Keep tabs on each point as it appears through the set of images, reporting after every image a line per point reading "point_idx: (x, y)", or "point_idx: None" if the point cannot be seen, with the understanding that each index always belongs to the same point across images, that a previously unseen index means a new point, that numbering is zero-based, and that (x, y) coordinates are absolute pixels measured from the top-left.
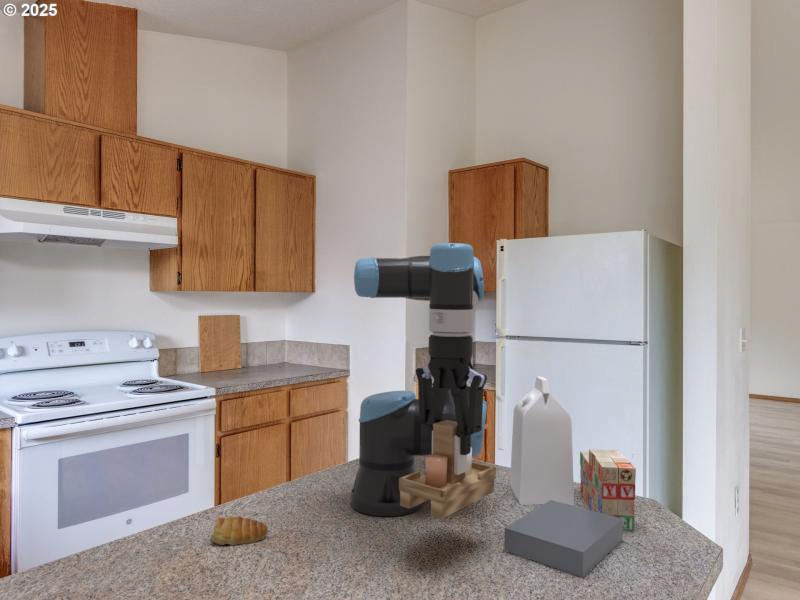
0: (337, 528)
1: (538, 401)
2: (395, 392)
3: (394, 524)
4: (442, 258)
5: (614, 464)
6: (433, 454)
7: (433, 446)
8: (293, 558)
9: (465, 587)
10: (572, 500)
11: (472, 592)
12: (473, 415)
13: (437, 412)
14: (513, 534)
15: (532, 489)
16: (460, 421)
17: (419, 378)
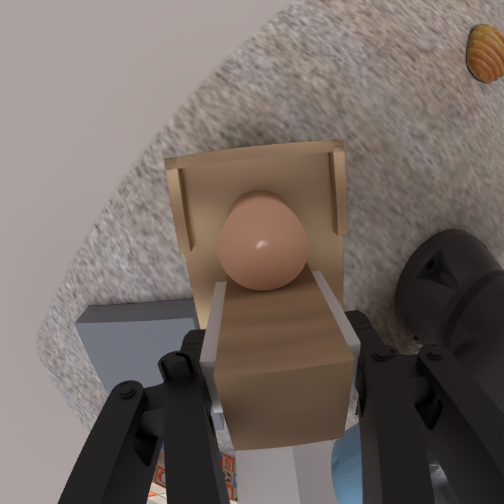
0: (441, 160)
1: None
2: None
3: (392, 239)
4: None
5: (152, 491)
6: (298, 268)
7: (321, 297)
8: (403, 44)
9: (156, 161)
10: (236, 451)
11: (141, 159)
12: (88, 449)
13: (371, 430)
14: (177, 315)
15: None
16: (177, 421)
17: None
